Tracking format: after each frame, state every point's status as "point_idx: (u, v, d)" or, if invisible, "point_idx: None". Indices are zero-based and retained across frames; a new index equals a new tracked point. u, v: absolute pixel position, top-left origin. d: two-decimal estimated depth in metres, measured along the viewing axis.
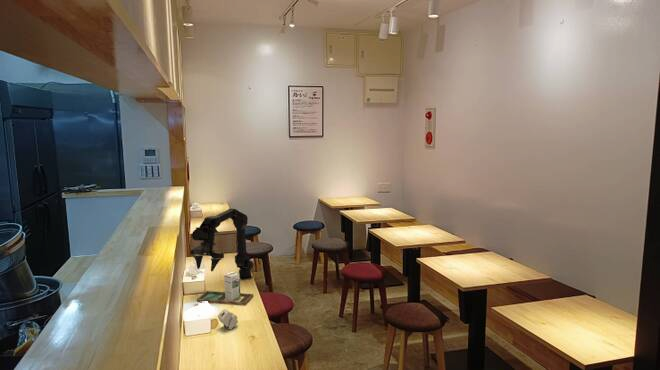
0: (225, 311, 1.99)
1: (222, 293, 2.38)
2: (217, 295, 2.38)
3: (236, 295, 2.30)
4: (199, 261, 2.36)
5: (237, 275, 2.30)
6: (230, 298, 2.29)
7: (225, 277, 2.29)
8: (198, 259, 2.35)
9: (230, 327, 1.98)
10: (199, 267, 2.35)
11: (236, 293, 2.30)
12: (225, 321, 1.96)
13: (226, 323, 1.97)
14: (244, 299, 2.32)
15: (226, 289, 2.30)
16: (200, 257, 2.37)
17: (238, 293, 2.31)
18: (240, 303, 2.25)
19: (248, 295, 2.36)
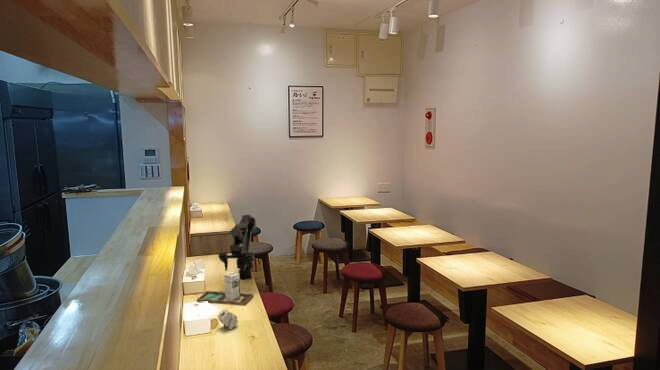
0: (225, 311, 1.99)
1: (222, 293, 2.38)
2: (217, 295, 2.38)
3: (236, 295, 2.30)
4: (227, 264, 2.40)
5: (237, 275, 2.30)
6: (230, 298, 2.29)
7: (225, 277, 2.29)
8: (226, 262, 2.40)
9: (230, 327, 1.98)
10: (226, 269, 2.39)
11: (236, 293, 2.30)
12: (225, 321, 1.96)
13: (226, 323, 1.97)
14: (244, 299, 2.32)
15: (226, 289, 2.30)
16: (227, 261, 2.42)
17: (238, 293, 2.31)
18: (240, 303, 2.25)
19: (248, 295, 2.36)
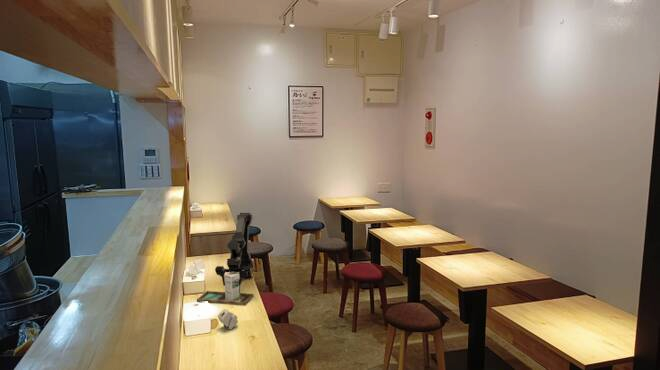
0: (225, 311, 1.99)
1: (222, 293, 2.38)
2: (217, 295, 2.38)
3: (236, 295, 2.30)
4: None
5: (237, 275, 2.30)
6: (230, 298, 2.29)
7: (225, 277, 2.29)
8: None
9: (230, 327, 1.98)
10: (224, 284, 2.30)
11: (236, 293, 2.30)
12: (225, 321, 1.96)
13: (226, 323, 1.97)
14: (244, 299, 2.32)
15: (226, 289, 2.30)
16: None
17: (238, 293, 2.31)
18: (240, 303, 2.25)
19: (248, 295, 2.36)
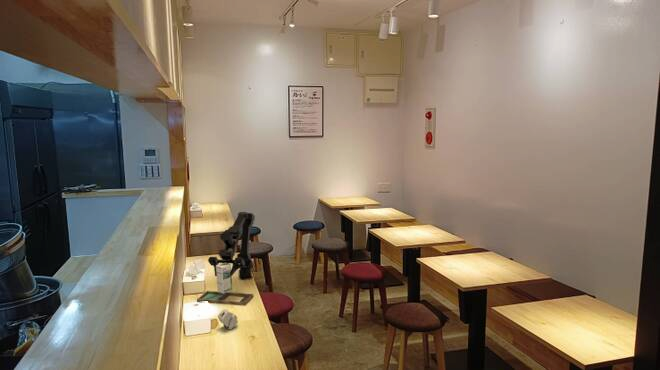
0: (225, 311, 1.99)
1: (222, 293, 2.38)
2: (217, 295, 2.38)
3: (228, 286, 2.30)
4: None
5: (229, 266, 2.29)
6: (221, 289, 2.29)
7: (217, 268, 2.29)
8: None
9: (230, 327, 1.98)
10: (216, 275, 2.31)
11: (227, 285, 2.29)
12: (225, 321, 1.96)
13: (226, 323, 1.97)
14: (244, 299, 2.32)
15: (218, 280, 2.30)
16: None
17: (229, 284, 2.30)
18: (240, 303, 2.25)
19: (248, 295, 2.36)
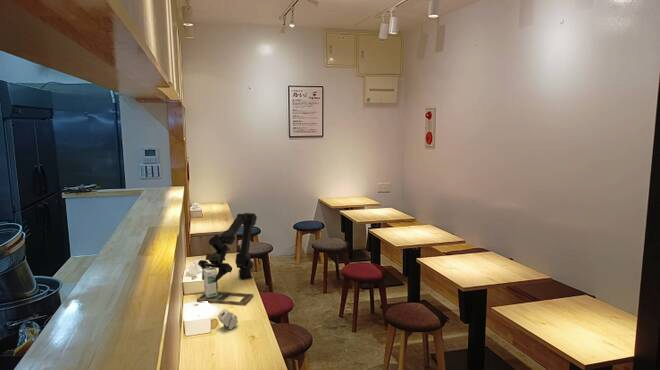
0: (225, 311, 1.99)
1: (222, 293, 2.38)
2: (217, 295, 2.38)
3: (213, 290, 2.32)
4: None
5: (214, 271, 2.31)
6: (206, 293, 2.32)
7: (203, 272, 2.33)
8: None
9: (230, 327, 1.98)
10: None
11: (212, 289, 2.31)
12: (225, 321, 1.96)
13: (226, 323, 1.97)
14: (244, 299, 2.32)
15: (204, 283, 2.33)
16: None
17: (215, 289, 2.32)
18: (240, 303, 2.25)
19: (248, 295, 2.36)
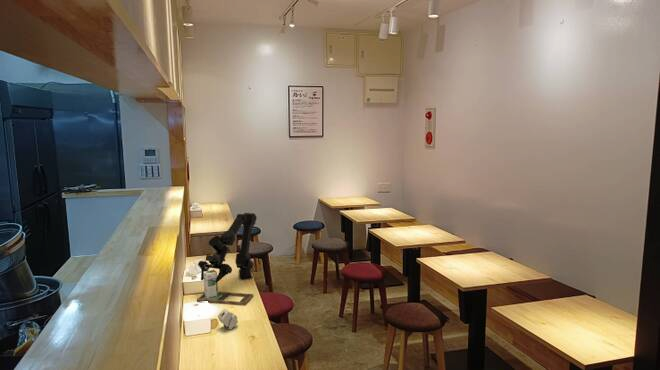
0: (225, 311, 1.99)
1: (222, 293, 2.38)
2: None
3: (213, 293, 2.32)
4: None
5: (214, 273, 2.31)
6: (207, 296, 2.32)
7: (204, 274, 2.33)
8: None
9: (230, 327, 1.98)
10: (202, 279, 2.34)
11: (212, 292, 2.32)
12: (225, 321, 1.96)
13: (226, 323, 1.97)
14: (244, 299, 2.32)
15: (204, 286, 2.34)
16: (206, 270, 2.38)
17: (215, 292, 2.33)
18: (240, 303, 2.25)
19: (248, 295, 2.36)
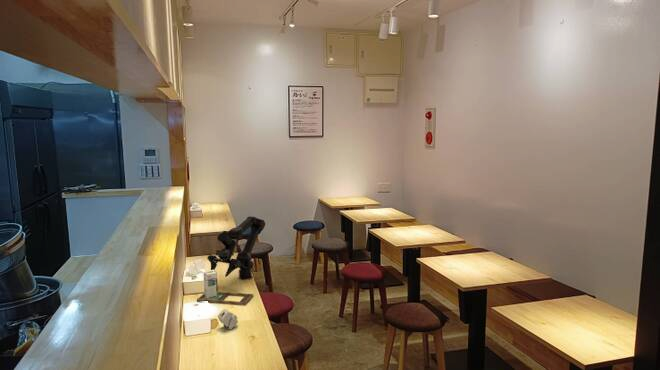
0: (225, 311, 1.99)
1: (222, 293, 2.38)
2: None
3: (213, 293, 2.32)
4: (213, 267, 2.44)
5: (214, 273, 2.31)
6: (207, 296, 2.32)
7: (204, 274, 2.33)
8: (213, 265, 2.44)
9: (230, 327, 1.98)
10: None
11: (212, 292, 2.32)
12: (225, 321, 1.96)
13: (226, 323, 1.97)
14: (244, 299, 2.32)
15: (204, 286, 2.34)
16: (215, 264, 2.46)
17: (215, 292, 2.33)
18: (240, 303, 2.25)
19: (248, 295, 2.36)
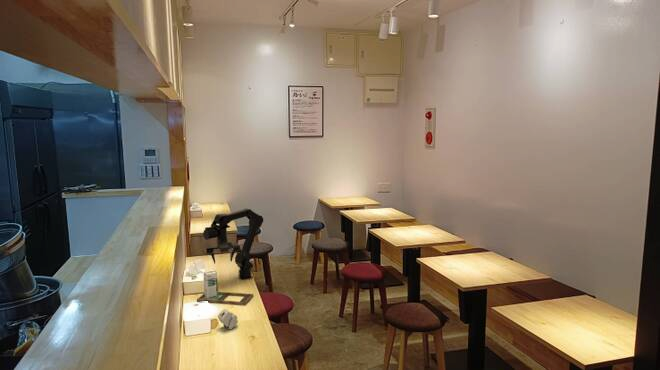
0: (225, 311, 1.99)
1: (222, 293, 2.38)
2: None
3: (213, 293, 2.32)
4: None
5: (214, 273, 2.31)
6: (207, 296, 2.32)
7: (204, 274, 2.33)
8: None
9: (230, 327, 1.98)
10: None
11: (212, 292, 2.32)
12: (225, 321, 1.96)
13: (226, 323, 1.97)
14: (244, 299, 2.32)
15: (204, 286, 2.34)
16: None
17: (215, 292, 2.33)
18: (240, 303, 2.25)
19: (248, 295, 2.36)
